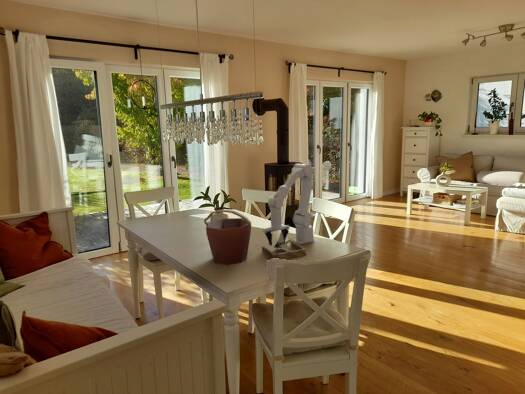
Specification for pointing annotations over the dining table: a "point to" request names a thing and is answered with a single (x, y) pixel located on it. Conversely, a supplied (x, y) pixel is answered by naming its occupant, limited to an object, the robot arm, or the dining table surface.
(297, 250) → the walnut u-shaped block
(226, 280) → the dining table surface
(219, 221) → the bucket
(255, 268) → the dining table surface
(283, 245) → the origami crane
